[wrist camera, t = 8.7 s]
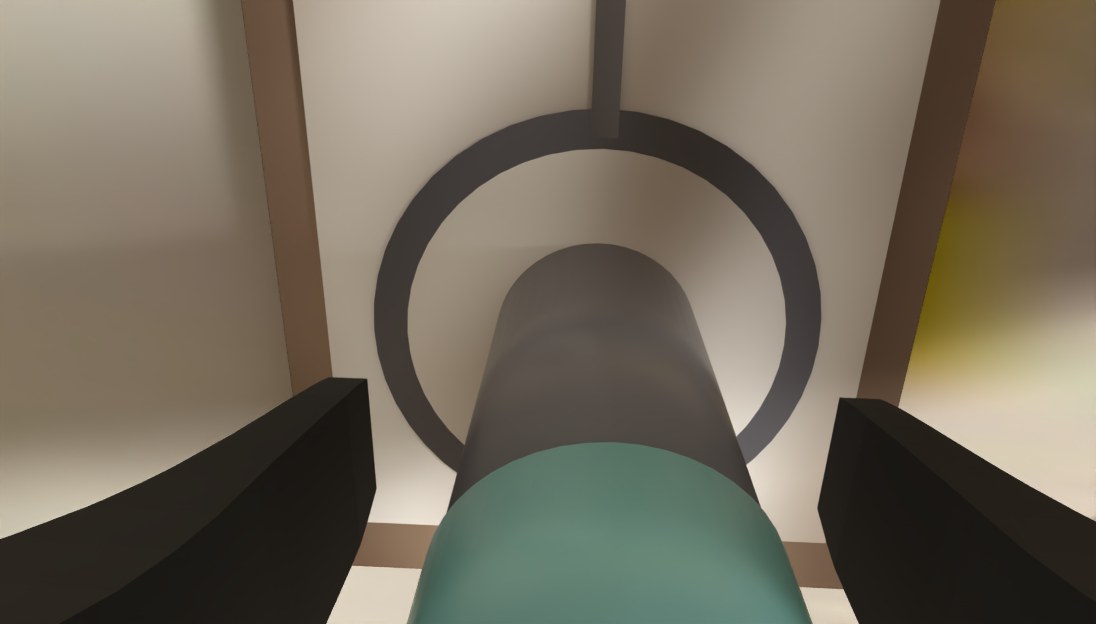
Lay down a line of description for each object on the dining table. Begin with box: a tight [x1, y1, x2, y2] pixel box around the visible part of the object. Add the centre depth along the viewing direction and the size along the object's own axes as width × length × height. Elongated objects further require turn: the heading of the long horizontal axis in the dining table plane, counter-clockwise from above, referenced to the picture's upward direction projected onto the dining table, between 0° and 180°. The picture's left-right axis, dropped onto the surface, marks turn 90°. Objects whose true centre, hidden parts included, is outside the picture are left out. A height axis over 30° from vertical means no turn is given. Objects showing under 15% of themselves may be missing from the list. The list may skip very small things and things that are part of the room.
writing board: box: [241, 0, 995, 589], centre depth 14 cm, size 13×20×2 cm, turn 179°
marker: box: [407, 243, 813, 624], centre depth 10 cm, size 4×4×10 cm
